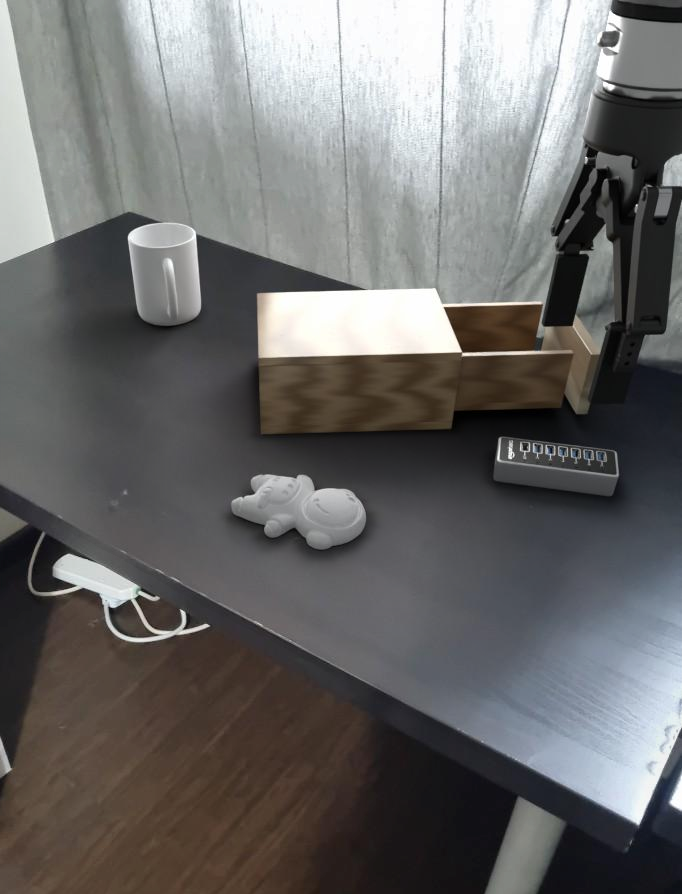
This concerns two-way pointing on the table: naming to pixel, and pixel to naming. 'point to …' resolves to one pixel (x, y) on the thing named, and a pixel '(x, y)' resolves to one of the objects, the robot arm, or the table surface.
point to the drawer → (520, 358)
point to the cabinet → (356, 361)
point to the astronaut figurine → (302, 510)
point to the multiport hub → (556, 466)
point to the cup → (165, 273)
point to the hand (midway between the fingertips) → (579, 360)
